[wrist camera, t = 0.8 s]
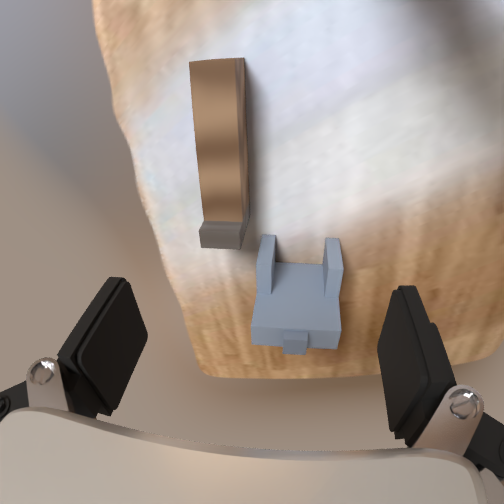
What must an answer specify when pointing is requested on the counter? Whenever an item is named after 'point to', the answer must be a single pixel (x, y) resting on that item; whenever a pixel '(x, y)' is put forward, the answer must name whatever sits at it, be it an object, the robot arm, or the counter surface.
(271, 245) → the grey slotted holder
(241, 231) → the brown wooden bar
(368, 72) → the counter surface
